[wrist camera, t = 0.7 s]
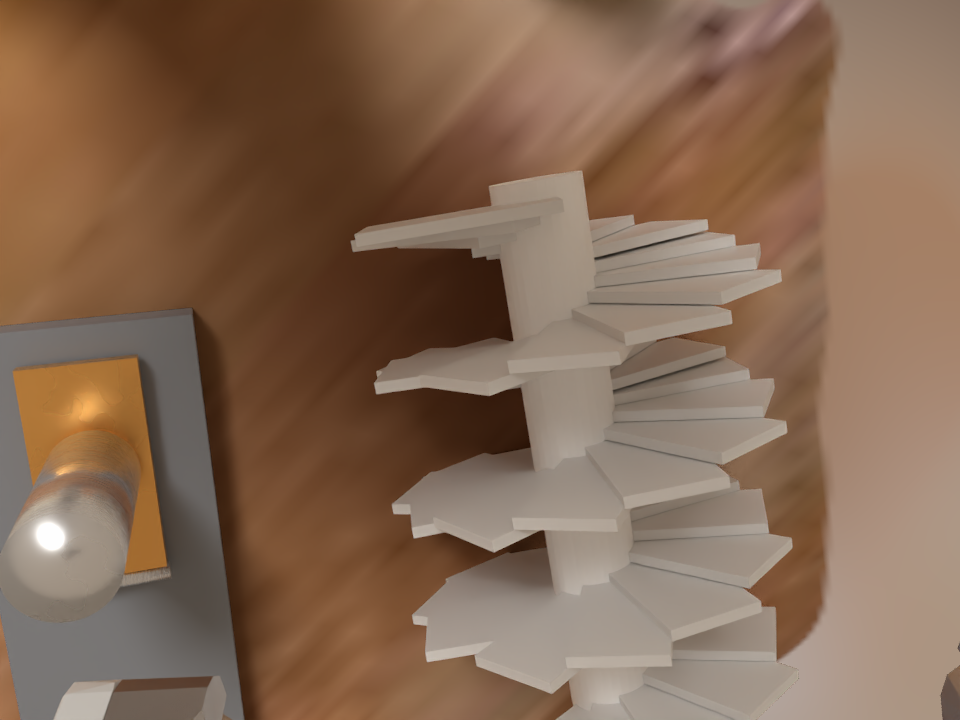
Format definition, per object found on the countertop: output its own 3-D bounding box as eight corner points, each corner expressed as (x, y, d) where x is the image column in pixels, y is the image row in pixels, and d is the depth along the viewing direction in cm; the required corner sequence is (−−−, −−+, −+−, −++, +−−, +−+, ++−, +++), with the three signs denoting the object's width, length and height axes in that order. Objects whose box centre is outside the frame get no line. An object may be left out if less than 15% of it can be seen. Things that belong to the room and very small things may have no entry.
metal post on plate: (13, 367, 39) (-51, 440, 29) (140, 353, 40) (122, 419, 30) (53, 594, 42) (8, 734, 32) (171, 574, 43) (164, 701, 33)
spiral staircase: (535, 171, 51) (596, 576, 56) (258, 225, 40) (367, 724, 45) (850, 125, 37) (891, 665, 43) (563, 187, 26) (667, 909, 31)
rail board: (-42, 329, 40) (-54, 338, 38) (192, 307, 43) (192, 314, 41) (49, 809, 46) (43, 836, 44) (250, 762, 49) (252, 786, 47)
